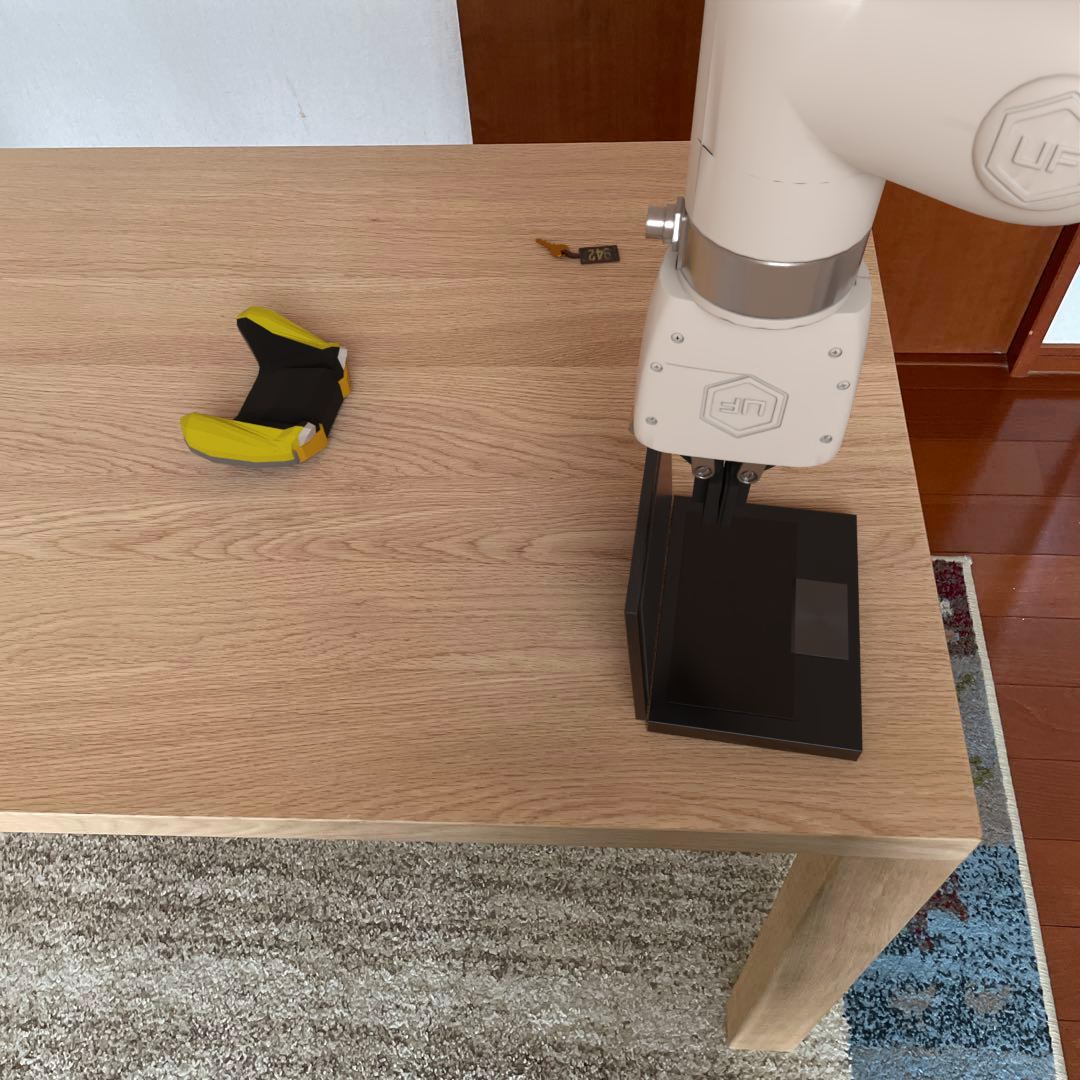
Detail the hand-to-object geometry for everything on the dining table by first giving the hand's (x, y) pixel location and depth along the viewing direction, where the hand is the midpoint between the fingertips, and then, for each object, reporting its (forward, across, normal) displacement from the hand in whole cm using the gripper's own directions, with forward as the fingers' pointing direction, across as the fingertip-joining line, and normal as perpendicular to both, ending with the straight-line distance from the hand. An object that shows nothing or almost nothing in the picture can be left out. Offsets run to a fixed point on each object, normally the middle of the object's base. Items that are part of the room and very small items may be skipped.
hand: (716, 505), depth 54 cm
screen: (+4, -3, 0) cm, 5 cm away
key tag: (+13, -14, +38) cm, 42 cm away
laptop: (+12, +4, 0) cm, 13 cm away
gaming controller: (+13, -34, +14) cm, 39 cm away
